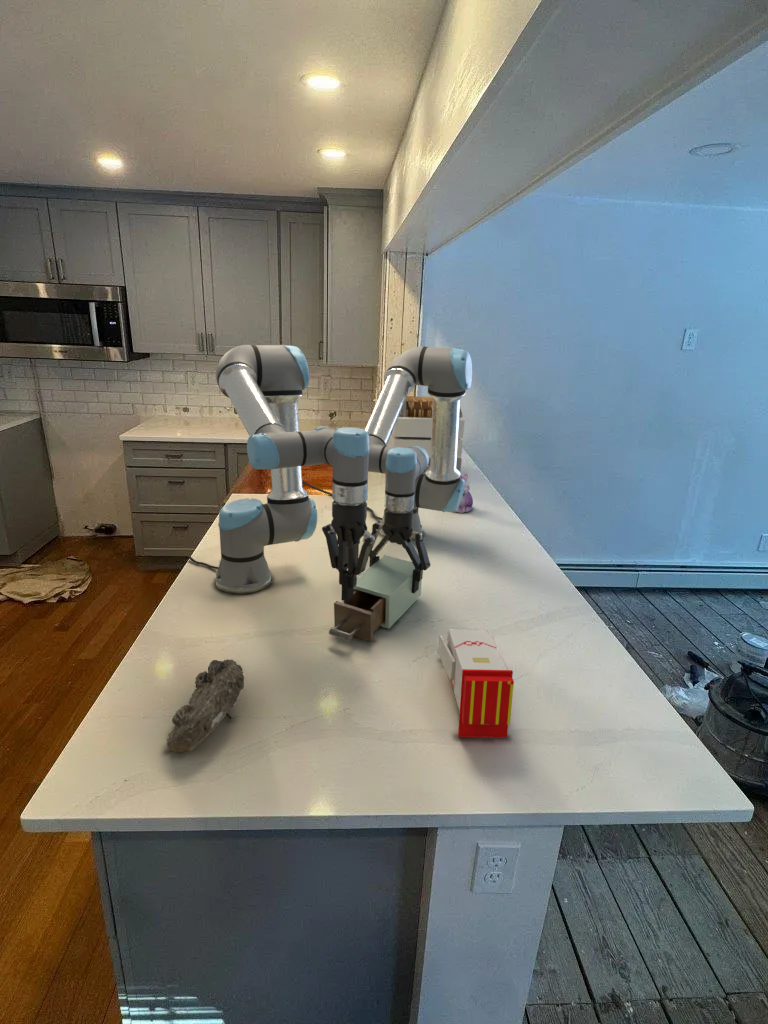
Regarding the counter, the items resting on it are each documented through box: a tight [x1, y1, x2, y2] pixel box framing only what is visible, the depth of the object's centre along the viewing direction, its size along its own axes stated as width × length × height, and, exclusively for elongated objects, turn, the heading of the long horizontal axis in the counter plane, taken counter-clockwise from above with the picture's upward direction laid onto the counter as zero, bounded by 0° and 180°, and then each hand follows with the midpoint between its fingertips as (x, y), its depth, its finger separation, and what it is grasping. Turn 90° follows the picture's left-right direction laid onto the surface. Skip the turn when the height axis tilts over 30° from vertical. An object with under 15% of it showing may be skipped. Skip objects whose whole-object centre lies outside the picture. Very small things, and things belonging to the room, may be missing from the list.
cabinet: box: [353, 554, 422, 630], centre depth 148 cm, size 18×11×10 cm, turn 151°
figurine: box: [454, 472, 474, 514], centre depth 225 cm, size 9×10×15 cm
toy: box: [437, 628, 515, 738], centre depth 117 cm, size 12×13×30 cm
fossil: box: [166, 658, 245, 754], centre depth 106 cm, size 22×10×15 cm
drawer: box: [328, 590, 386, 642], centre depth 139 cm, size 23×10×8 cm, turn 151°
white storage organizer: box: [387, 395, 465, 475], centre depth 268 cm, size 34×33×41 cm
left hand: (347, 598), depth 130 cm, fingers closed
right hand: (394, 585), depth 153 cm, fingers closed on cabinet, 11 cm apart
